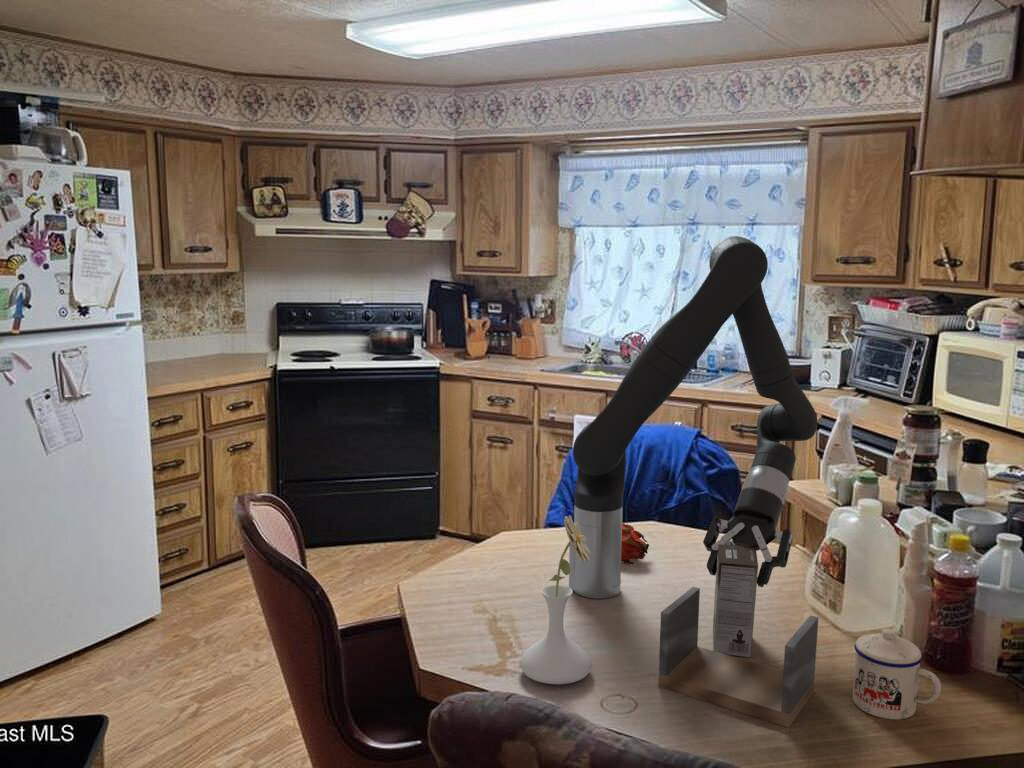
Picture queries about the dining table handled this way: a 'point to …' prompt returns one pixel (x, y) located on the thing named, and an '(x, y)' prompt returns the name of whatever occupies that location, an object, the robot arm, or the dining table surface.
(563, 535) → the dining table surface
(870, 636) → the teacup with lid
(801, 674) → the shelf bay
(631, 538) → the dragon fruit
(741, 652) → the coffee box
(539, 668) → the flower in vase
